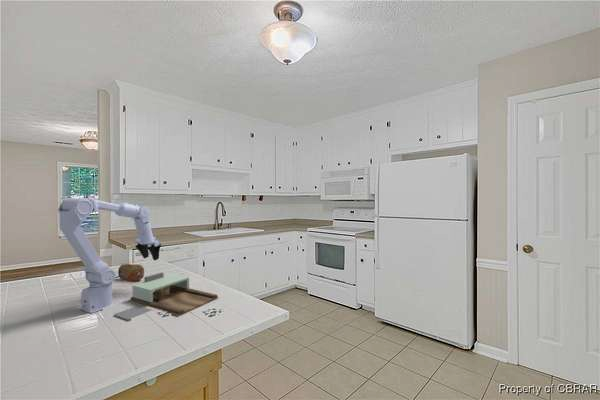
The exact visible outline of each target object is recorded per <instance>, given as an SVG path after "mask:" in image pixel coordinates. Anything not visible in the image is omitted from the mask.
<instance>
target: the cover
mask: <svg viewBox="0 0 600 400" xmlns="http://www.w3.org/2000/svg"><path fill="white" fill-rule="evenodd" d="M143 278H144V280H143V282H139V283H136V284H132V287H131V288H132V290H131V291H132V293H131V294H132V296H131V297H134V298H137V299H141V300H144V301H148V302H153V292H155V290H158V289H161V288H164V287H167V286H170V285H173V286H178V287H182V288H186V289H188V288H189V289H190V277H189V276H184V275H179V274H174V273H169V274H167V275H164V272H157V273H156V274H151V275H148V276H143Z"/></svg>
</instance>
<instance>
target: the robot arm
mask: <svg viewBox="0 0 600 400" xmlns="http://www.w3.org/2000/svg"><path fill="white" fill-rule="evenodd" d="M97 210H100V211H107V212H111V213H112V212H114V213H115V215H117V216H119V217H126V218H131V219H132V220H133V221H134V225H135V228H136V232H137V237H138V238H136V239H135V244H136V245H135V248H136V249H137V250H138V252H139V253H140V254H141V257H143V259H147V258H149V257H150V255H151V256H152V260H153V261H157V260H159V258H160V251H161V250H160V249H161V247H162V243H160V241H159V240H157V238H156V237H155V236H154V235H153V231H152V227H151V223H150V219H151V218H150V216H151V210H149V208H148V207H147V206H144V205H142V206H141V205H138V204H137V203H134V204H132V203H129V202H128V201H122V202H117V204H116V203H112V202H107V201H104V200H100V199H88V198H66V199H64V200H63V201H62V202H61V203H60V205H59V206H58V208H57V212H58V213H59V229H60V231H61V232H62V235H64V237H65V239H66V240H67V241H68V243H69V244H70V246H71V247H72V248H73V250H74V252H75V253H76V255H77V256H78V258H79V260H80V261H81V262H82V264H83V265H84V268H83V271H84V274H85V275H84V276H85V279H86V281H87V282H88V284H89V286H88V287H86V288H83V289H82V290H81V294H80V295H81V299H80V300H81V303H80V304H81V308H80V311H81V310H82V311H84V312H87V313H89V314H93V313H96V312H99V311H102V310H103V309H105V308H106V309H107V308H108V307H111V306H115V305H118V302H115V301H113V282H114V281H115V279H116V276H117V273H116V271H115V269H113V268H111V267H110V266H109V264H108V263H106V262H104V261H103V260H102V259H101V257H100V255H99V254H98V252H97V251H96V249H95V247H94V246H93V245H92V243H91V241H90V240H89V238H88V236H87V235H86V233H85V232H84V230H83V228H82V227H81V225H82V224H83V222H84V221H85V220H86V219H87V218H88V217H89V215H91V214H92V212H96V211H97ZM149 253H150V254H149Z"/></svg>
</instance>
